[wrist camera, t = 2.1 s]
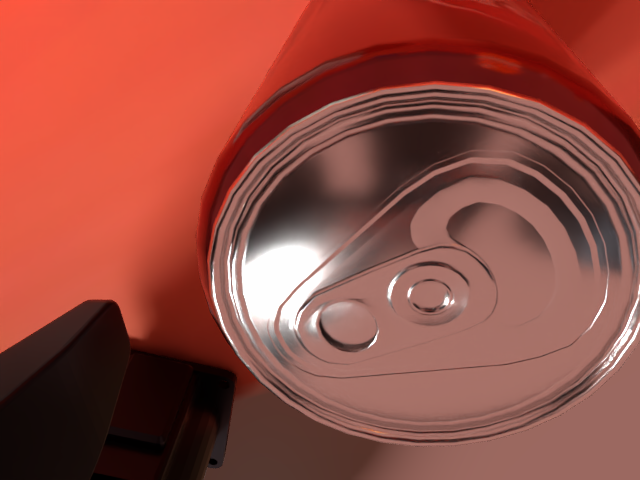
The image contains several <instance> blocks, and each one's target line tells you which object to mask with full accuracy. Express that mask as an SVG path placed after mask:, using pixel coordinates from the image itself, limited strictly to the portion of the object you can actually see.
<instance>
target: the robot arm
mask: <svg viewBox="0 0 640 480" xmlns="http://www.w3.org/2000/svg"><path fill="white" fill-rule="evenodd" d="M224 381H226V382H224ZM236 383H237V377H236V376H235V374H233V373H232V372H230V371H228V370H223V369H219V368H214V367H209V366H205V365H200V364H195V363H191V362H186V361H181V360H177V359H172V358H168V357H163V356H158V355H154V354H149V353H144V352H140V351H135V350H131V346H130V340H129V336H128V333H127V330H126V327H125V324H124V321H123V317H122V314H121V311H120V308H119V306H118V304H117V303H116V302H115V301H113V300H87V301H85V302H83V303H81V304H80V305H78V306H77V307H75V308H73V309H72V310H70V311H68V312H67V313H65V314H64V315H62V316H60V317H59V318H57V319H55V320H54V321H52V322H51V323H49V324H47V325H46V326H44V327H42V328H41V329H39V330H38V331H36V332H34V333H33V334H31V335H29V336H28V337H26V338H25V339H23V340H21V341H20V342H18V343H17V344H15V345H13V346H12V347H10V348H8V349H7V350H5V351H4V352H2V353H0V480H204V476H205V473H206V470H207V467H209V468H219V467H221V466H222V464H223V461H224V457H225V451H226V445H227V439H228V432H229V426H230V420H231V414H232V408H233V402H234V395H235V389H236Z"/></svg>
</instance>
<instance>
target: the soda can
mask: <svg viewBox="0 0 640 480" xmlns="http://www.w3.org/2000/svg"><path fill="white" fill-rule="evenodd" d="M196 244H197V256H198V269H199V276H200V281H201V284H202V287H203V290H204V293H205V297H206V300H207V303H208V306H209V309H210V313H211V314H212V316H213V318H214V320H215V321H216V323H217V325H218V327H219V329H220V330H221V332H222V334H223V336H224V337H225V339H226V341H227V343H228V344H229V345H230V346H231V348H232V349H233V350H234V352H235V354H236V355H237V356H238V358H239V359H240V360H241V361H242V362H243V363H244V365H245V366H246V367H247V368H248V369H249V371H250V372H251V373H252V374H253V375H254V376H255V378H256V379H257V380H258V381H259V382H260V383H261V384H262V385H264V386H265V387H266V388H267V389H268V390H270V391H271V392H272V393H274V394H275V395H276V396H277V397H278V398H279V399H281V400H282V401H283V402H284V403H286V404H287V405H289V406H291V407H292V408H294V409H296V410H298V411H299V412H301V413H303V414H304V415H306V416H308V417H309V418H311V419H313V420H315V421H317V422H319V423H322V424H324V425H327V426H329V427H332V428H335V429H337V430H340V431H342V432H344V433H347V434H351V435H354V436H358V437H363V438H366V439H371V440H375V441H378V442H384V443H392V444H401V445H409V446H457V445H464V444H471V443H478V442H485V441H491V440H495V439H498V438H502V437H505V436H509V435H512V434H516V433H519V432H523V431H526V430H529V429H531V428H533V427H535V426H538V425H540V424H542V423H544V422H547V421H549V420H551V419H553V418H556V417H558V416H560V415H561V414H563V413H565V412H566V411H568V410H569V409H571V408H572V407H574V406H576V405H577V404H579V403H580V402H582V401H583V400H585V399H586V398H588V397H590V396H591V395H592V394H593V393H595V392H596V391H597V390H598V389H599V388H600V387H601V386H602V385H603V384H604V383H605V382H607V380H609V379H610V378H611V377H612V376H613V375H614V374H615V373H616V372H617V371H618V370H619V369H620V368H621V367H622V365H623V364H624V363H625V361H626V360H627V358H628V357H629V356H630V355H631V353H632V352H633V350H634V349H635V348H636V346H637V345H638V344H639V342H640V131H639V129H638V128H637V126H636V125H635V123H634V122H633V120H632V119H631V117H630V116H629V115H628V114H627V113H626V112H625V111H624V110H623V108H622V107H621V106H620V105H619V104H618V103H617V102H616V101H615V99H614V98H613V97H612V96H611V95H610V94H609V93H608V91H607V90H606V89H605V88H604V87H603V86H602V85H601V84H600V82H599V81H598V80H597V79H596V78H595V77H594V76H593V75H592V73H591V72H590V71H589V70H588V69H587V68H586V67H585V65H584V64H583V63H582V62H581V61H580V60H579V59H578V58H577V56H576V55H575V54H574V53H573V52H572V51H571V50H570V49H569V47H568V46H567V45H566V44H565V43H564V42H563V41H562V39H561V38H560V37H559V36H558V35H557V34H556V33H555V32H554V30H553V29H552V28H551V27H550V26H549V25H548V24H547V23H546V21H545V20H544V19H543V18H542V17H541V16H540V15H539V13H538V12H537V11H536V10H535V9H534V8H533V7H532V6H531V4H530V3H529V2H528V1H527V0H310V2H309V3H308V5H307V6H306V8H305V10H304V12H303V13H302V15H301V17H300V18H299V20H298V22H297V23H296V25H295V27H294V29H293V30H292V32H291V34H290V35H289V37H288V39H287V41H286V42H285V44H284V46H283V47H282V49H281V51H280V52H279V54H278V56H277V58H276V59H275V61H274V63H273V64H272V66H271V68H270V70H269V71H268V73H267V75H266V76H265V78H264V80H263V82H262V83H261V85H260V87H259V88H258V90H257V92H256V93H255V95H254V97H253V99H252V100H251V102H250V104H249V105H248V107H247V109H246V111H245V112H244V114H243V116H242V117H241V119H240V121H239V122H238V124H237V126H236V128H235V129H234V131H233V133H232V134H231V136H230V138H229V140H228V141H227V143H226V145H225V146H224V148H223V150H222V151H221V153H220V155H219V157H218V158H217V161H216V163H215V165H214V168H213V170H212V173H211V175H210V178H209V180H208V183H207V185H206V187H205V190H204V192H203V195H202V198H201V204H200V211H199V217H198V224H197V230H196Z"/></svg>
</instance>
